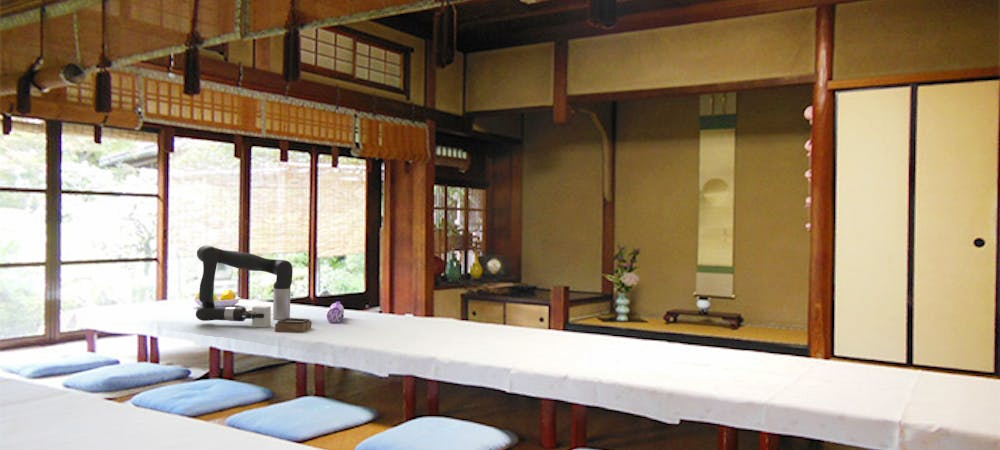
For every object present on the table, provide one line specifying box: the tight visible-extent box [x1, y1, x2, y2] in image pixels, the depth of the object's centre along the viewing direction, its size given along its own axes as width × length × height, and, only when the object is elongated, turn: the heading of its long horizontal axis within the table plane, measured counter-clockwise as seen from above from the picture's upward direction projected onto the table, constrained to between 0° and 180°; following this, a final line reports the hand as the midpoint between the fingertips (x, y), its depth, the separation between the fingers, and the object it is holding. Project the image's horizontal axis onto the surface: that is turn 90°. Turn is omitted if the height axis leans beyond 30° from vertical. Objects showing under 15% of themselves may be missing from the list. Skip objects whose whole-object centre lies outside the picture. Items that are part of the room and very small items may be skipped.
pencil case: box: [326, 301, 345, 324], centre depth 400 cm, size 22×9×10 cm, turn 12°
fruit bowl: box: [193, 289, 241, 308], centre depth 440 cm, size 28×27×11 cm
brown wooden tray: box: [274, 317, 312, 333], centre depth 366 cm, size 14×14×5 cm
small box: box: [251, 305, 272, 328], centre depth 374 cm, size 8×6×10 cm
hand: (266, 315), depth 374 cm, fingers closed on small box, 5 cm apart
